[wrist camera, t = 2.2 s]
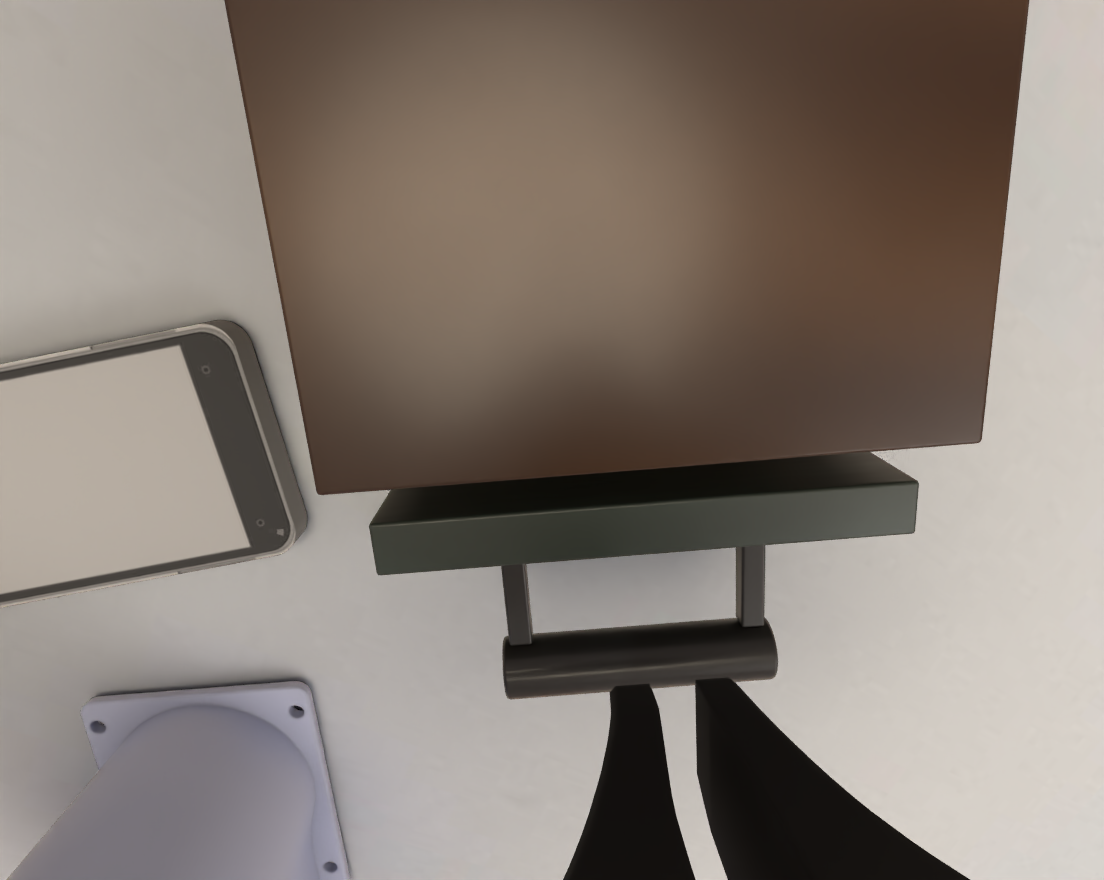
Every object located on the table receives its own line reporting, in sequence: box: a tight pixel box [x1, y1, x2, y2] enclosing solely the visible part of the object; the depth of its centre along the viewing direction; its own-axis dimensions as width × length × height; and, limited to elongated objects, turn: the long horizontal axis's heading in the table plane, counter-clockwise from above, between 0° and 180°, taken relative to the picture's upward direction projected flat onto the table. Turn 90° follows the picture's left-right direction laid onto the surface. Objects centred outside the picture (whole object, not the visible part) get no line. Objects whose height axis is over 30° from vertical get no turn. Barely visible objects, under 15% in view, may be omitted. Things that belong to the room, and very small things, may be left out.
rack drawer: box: [369, 452, 919, 699], centre depth 16 cm, size 18×11×7 cm, turn 4°
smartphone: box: [0, 320, 307, 608], centre depth 20 cm, size 7×1×15 cm
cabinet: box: [224, 0, 1029, 495], centre depth 14 cm, size 15×13×9 cm
